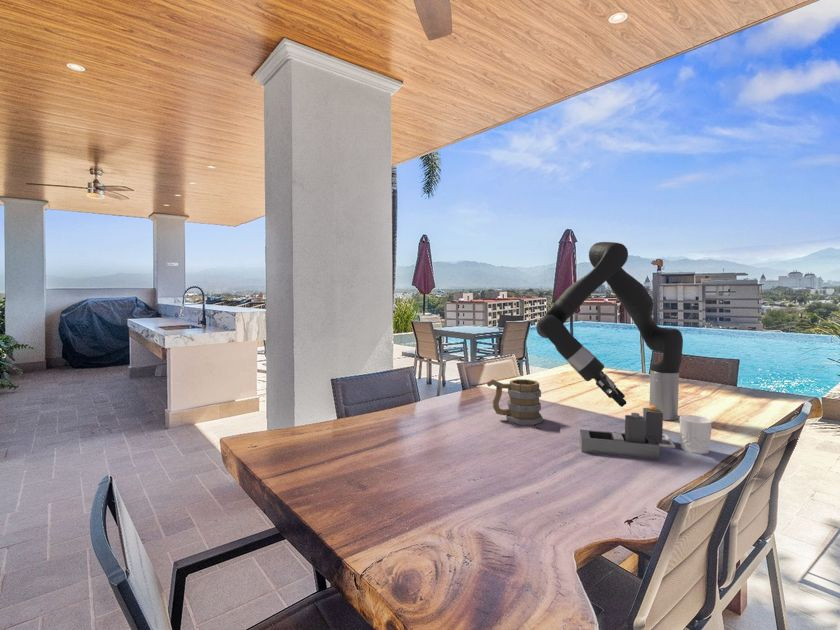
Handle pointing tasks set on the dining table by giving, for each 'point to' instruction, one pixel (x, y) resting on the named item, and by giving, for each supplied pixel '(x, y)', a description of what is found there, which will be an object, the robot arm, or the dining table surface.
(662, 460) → the dining table surface
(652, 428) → the plug
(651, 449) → the strip
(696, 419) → the white cup
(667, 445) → the tray
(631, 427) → the twin plug
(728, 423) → the dining table surface
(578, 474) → the dining table surface
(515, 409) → the tankard
